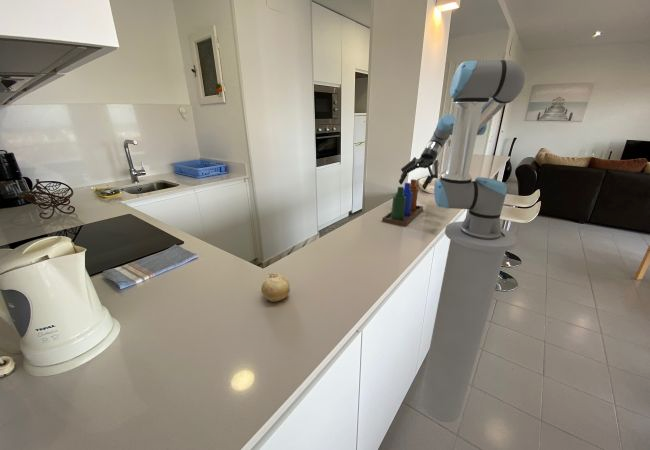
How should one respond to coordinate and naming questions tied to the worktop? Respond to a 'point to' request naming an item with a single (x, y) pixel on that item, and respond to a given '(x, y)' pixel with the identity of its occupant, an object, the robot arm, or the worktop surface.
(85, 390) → the worktop surface
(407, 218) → the tray
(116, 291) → the worktop surface
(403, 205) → the green bottle
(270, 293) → the onion
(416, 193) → the amber bottle
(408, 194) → the blue bottle
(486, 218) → the robot arm
